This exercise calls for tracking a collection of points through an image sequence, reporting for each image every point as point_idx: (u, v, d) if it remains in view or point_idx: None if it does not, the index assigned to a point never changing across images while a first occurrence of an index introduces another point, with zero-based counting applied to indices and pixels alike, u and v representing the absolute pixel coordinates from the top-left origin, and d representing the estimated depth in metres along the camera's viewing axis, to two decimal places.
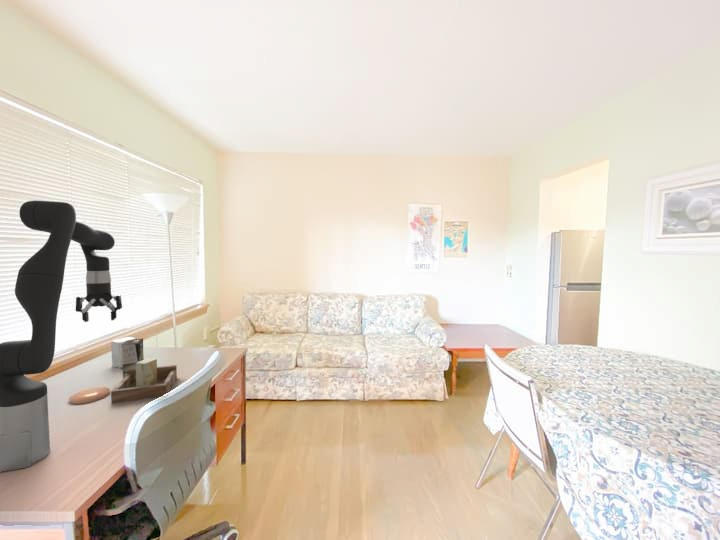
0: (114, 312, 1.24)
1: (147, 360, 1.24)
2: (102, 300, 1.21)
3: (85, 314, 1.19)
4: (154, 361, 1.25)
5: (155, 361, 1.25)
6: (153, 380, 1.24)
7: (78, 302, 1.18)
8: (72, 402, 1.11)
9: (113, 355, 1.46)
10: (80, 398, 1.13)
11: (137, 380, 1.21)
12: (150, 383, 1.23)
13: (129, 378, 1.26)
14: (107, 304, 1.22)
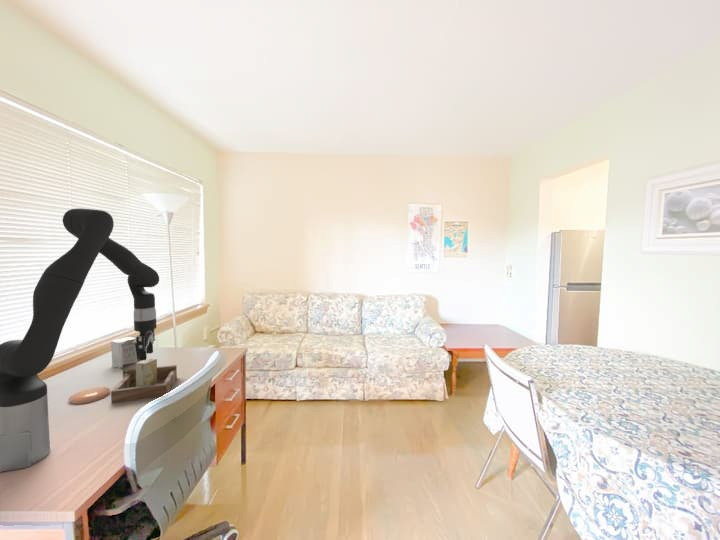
0: None
1: (147, 360, 1.24)
2: (152, 334, 1.25)
3: (145, 352, 1.19)
4: (154, 361, 1.25)
5: (155, 361, 1.25)
6: (153, 380, 1.24)
7: (144, 341, 1.17)
8: (72, 402, 1.11)
9: (113, 355, 1.46)
10: (80, 398, 1.13)
11: (137, 380, 1.21)
12: (150, 383, 1.23)
13: (129, 378, 1.26)
14: (153, 337, 1.26)
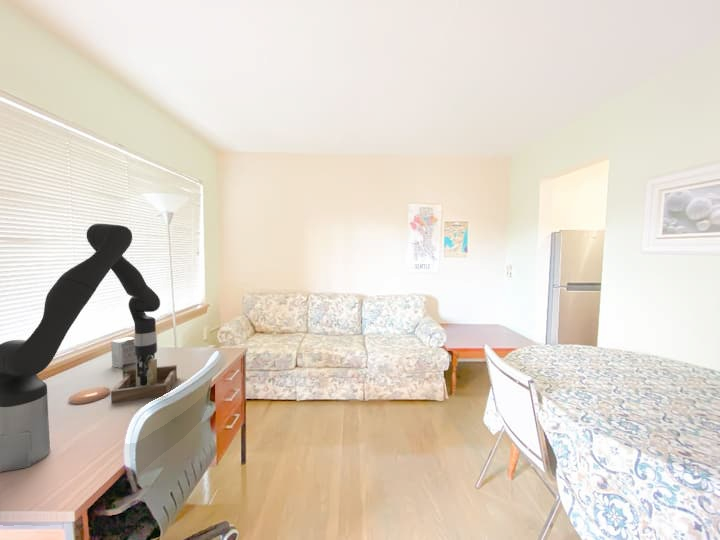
0: None
1: None
2: (152, 358, 1.25)
3: (146, 377, 1.20)
4: (154, 361, 1.25)
5: (155, 361, 1.25)
6: (153, 380, 1.24)
7: None
8: (72, 402, 1.11)
9: (113, 355, 1.46)
10: (80, 398, 1.13)
11: (137, 380, 1.21)
12: (150, 383, 1.23)
13: (129, 378, 1.26)
14: None
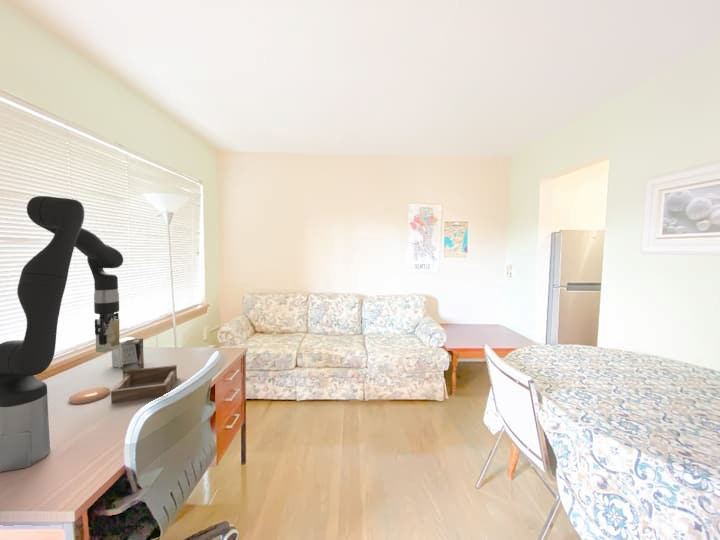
0: None
1: None
2: (115, 318, 1.20)
3: (106, 336, 1.15)
4: (116, 321, 1.19)
5: (117, 322, 1.19)
6: (115, 341, 1.19)
7: (103, 324, 1.12)
8: (72, 402, 1.11)
9: (113, 355, 1.46)
10: (80, 398, 1.13)
11: (97, 339, 1.15)
12: (111, 343, 1.17)
13: (129, 378, 1.26)
14: None
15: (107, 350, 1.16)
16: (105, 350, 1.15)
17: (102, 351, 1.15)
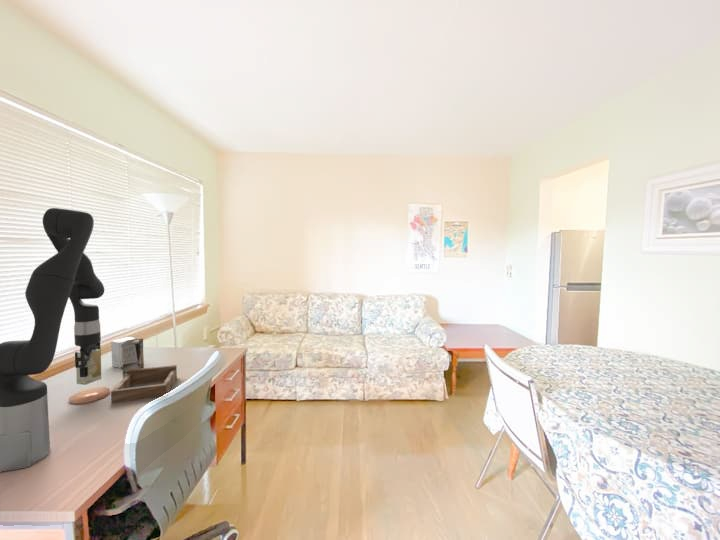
0: None
1: None
2: (96, 348, 1.18)
3: (87, 368, 1.13)
4: (97, 352, 1.18)
5: (98, 352, 1.18)
6: (96, 372, 1.17)
7: (84, 357, 1.11)
8: (72, 402, 1.11)
9: (113, 355, 1.46)
10: (80, 398, 1.13)
11: (77, 371, 1.14)
12: (92, 375, 1.16)
13: (129, 378, 1.26)
14: None
15: (88, 382, 1.15)
16: (86, 382, 1.14)
17: (83, 383, 1.13)
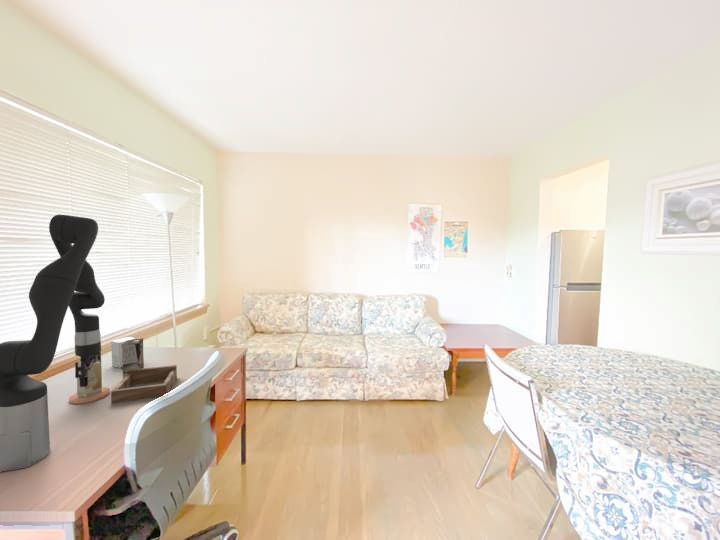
0: None
1: None
2: (96, 358, 1.19)
3: (87, 378, 1.13)
4: (98, 364, 1.18)
5: (99, 364, 1.18)
6: (97, 384, 1.18)
7: (84, 367, 1.11)
8: (72, 402, 1.11)
9: (113, 355, 1.46)
10: (80, 398, 1.13)
11: (78, 384, 1.14)
12: (93, 387, 1.16)
13: (129, 378, 1.26)
14: None
15: (89, 394, 1.15)
16: (87, 395, 1.14)
17: (84, 396, 1.14)
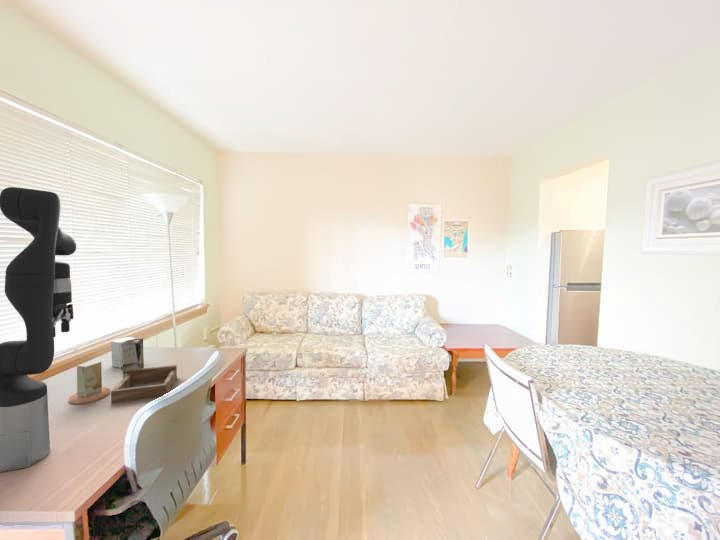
0: (68, 323, 1.13)
1: (90, 363, 1.17)
2: (67, 310, 1.10)
3: (54, 328, 1.05)
4: (98, 364, 1.18)
5: (99, 364, 1.18)
6: (97, 384, 1.18)
7: None
8: (72, 402, 1.11)
9: (113, 355, 1.46)
10: (80, 398, 1.13)
11: (78, 384, 1.14)
12: (93, 387, 1.16)
13: (129, 378, 1.26)
14: (68, 314, 1.12)
15: (89, 394, 1.15)
16: (87, 395, 1.14)
17: (84, 396, 1.14)
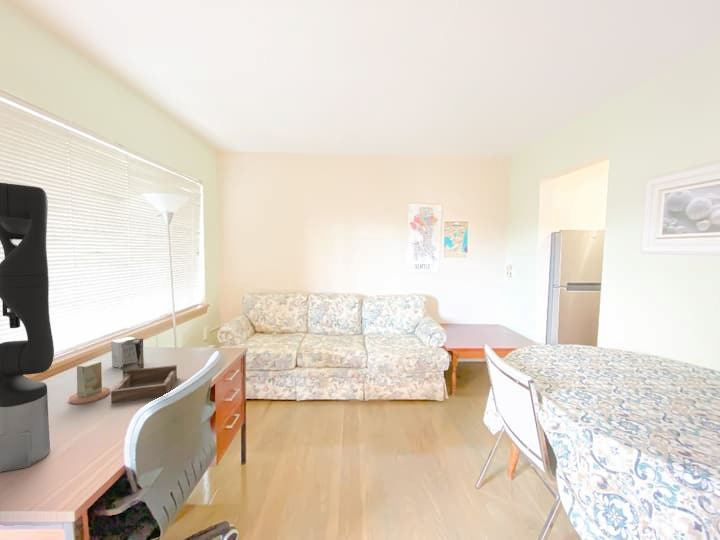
0: None
1: (90, 363, 1.17)
2: None
3: (18, 318, 0.98)
4: (98, 364, 1.18)
5: (99, 364, 1.18)
6: (97, 384, 1.18)
7: None
8: (72, 402, 1.11)
9: (113, 355, 1.46)
10: (80, 398, 1.13)
11: (78, 384, 1.14)
12: (93, 387, 1.16)
13: (129, 378, 1.26)
14: None
15: (89, 394, 1.15)
16: (87, 395, 1.14)
17: (84, 396, 1.14)
